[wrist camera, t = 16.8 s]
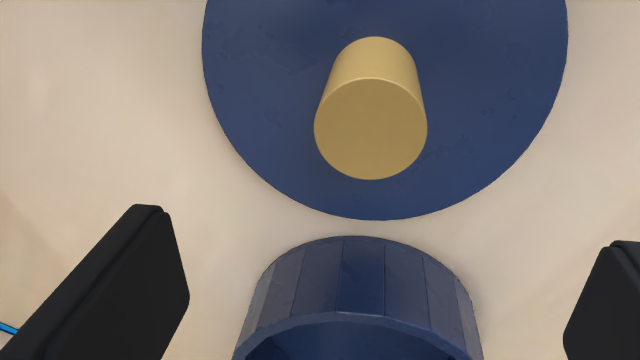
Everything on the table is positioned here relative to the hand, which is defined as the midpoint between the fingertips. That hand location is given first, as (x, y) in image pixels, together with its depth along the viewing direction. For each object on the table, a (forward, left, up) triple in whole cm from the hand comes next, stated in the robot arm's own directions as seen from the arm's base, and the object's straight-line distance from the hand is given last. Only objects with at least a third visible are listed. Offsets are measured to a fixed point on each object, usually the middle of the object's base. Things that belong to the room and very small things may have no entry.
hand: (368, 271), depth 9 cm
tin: (+18, 0, -13) cm, 22 cm away
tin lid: (0, 0, -13) cm, 13 cm away
